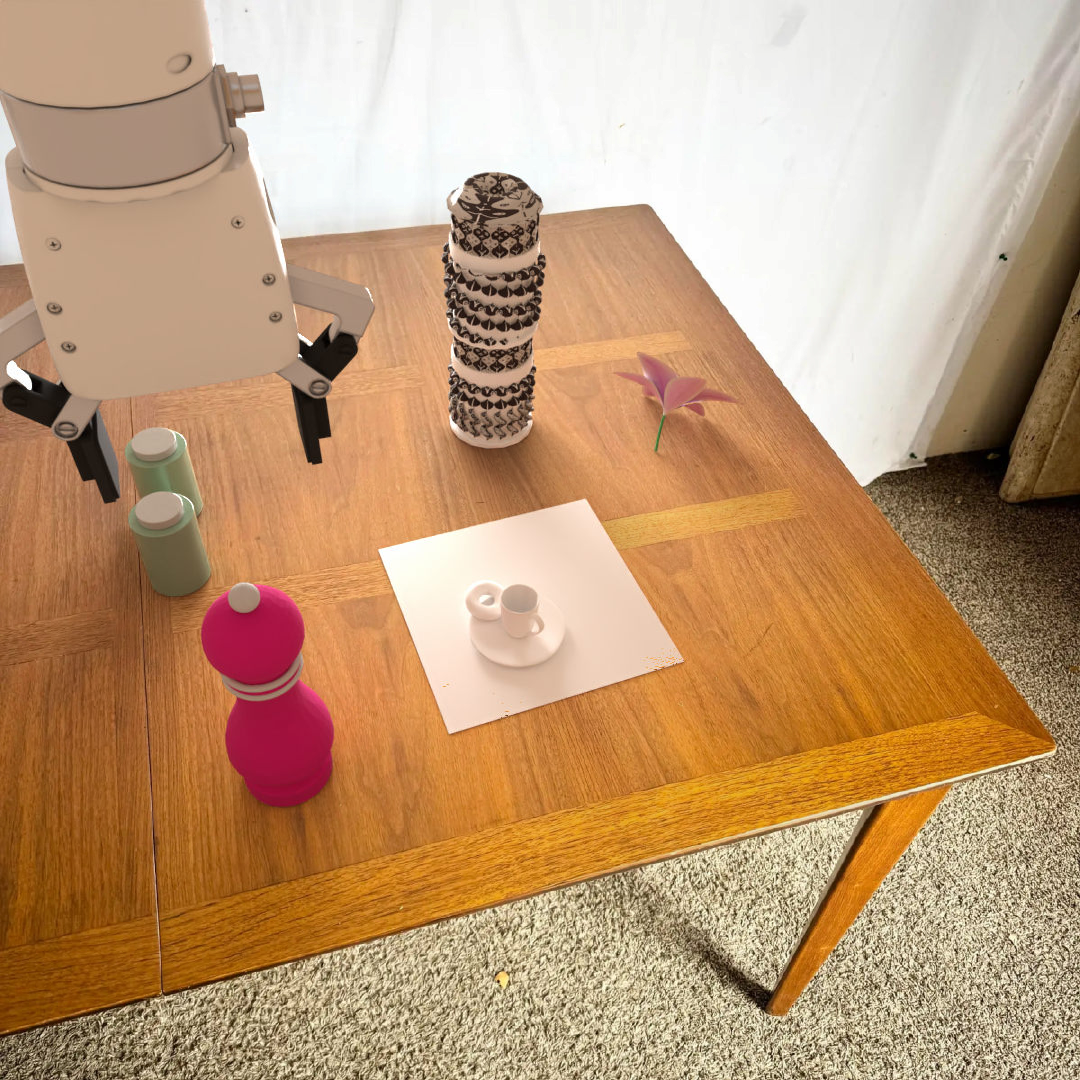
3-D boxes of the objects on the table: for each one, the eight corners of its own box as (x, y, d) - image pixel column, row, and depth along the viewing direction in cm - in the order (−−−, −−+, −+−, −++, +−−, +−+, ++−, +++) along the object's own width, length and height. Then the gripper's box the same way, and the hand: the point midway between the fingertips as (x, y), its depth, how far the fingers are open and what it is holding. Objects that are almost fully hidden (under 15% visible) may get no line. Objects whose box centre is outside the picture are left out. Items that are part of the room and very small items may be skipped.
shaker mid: (144, 597, 79) (118, 530, 74) (156, 553, 83) (132, 485, 77) (206, 596, 80) (185, 529, 74) (215, 552, 83) (196, 484, 77)
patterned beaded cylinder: (459, 458, 93) (456, 219, 75) (435, 401, 99) (427, 166, 81) (548, 442, 96) (566, 206, 78) (519, 387, 102) (530, 156, 84)
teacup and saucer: (452, 600, 81) (451, 568, 78) (540, 577, 83) (542, 545, 80) (487, 681, 75) (488, 650, 72) (580, 654, 78) (584, 622, 75)
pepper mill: (338, 720, 72) (305, 536, 58) (341, 807, 67) (306, 630, 53) (239, 731, 71) (180, 547, 57) (235, 821, 66) (170, 644, 52)
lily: (743, 461, 97) (763, 366, 94) (670, 467, 89) (689, 363, 86) (652, 434, 105) (668, 345, 102) (578, 437, 97) (593, 341, 94)
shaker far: (139, 528, 85) (115, 460, 79) (151, 489, 88) (129, 421, 82) (197, 527, 85) (178, 460, 79) (207, 489, 89) (189, 421, 83)
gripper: (335, 63, 40) (369, 391, 53) (-129, 100, 36) (27, 449, 48) (373, 138, 35) (401, 481, 48) (-157, 192, 31) (25, 554, 43)
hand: (213, 465), depth 48 cm, fingers open, 9 cm apart
